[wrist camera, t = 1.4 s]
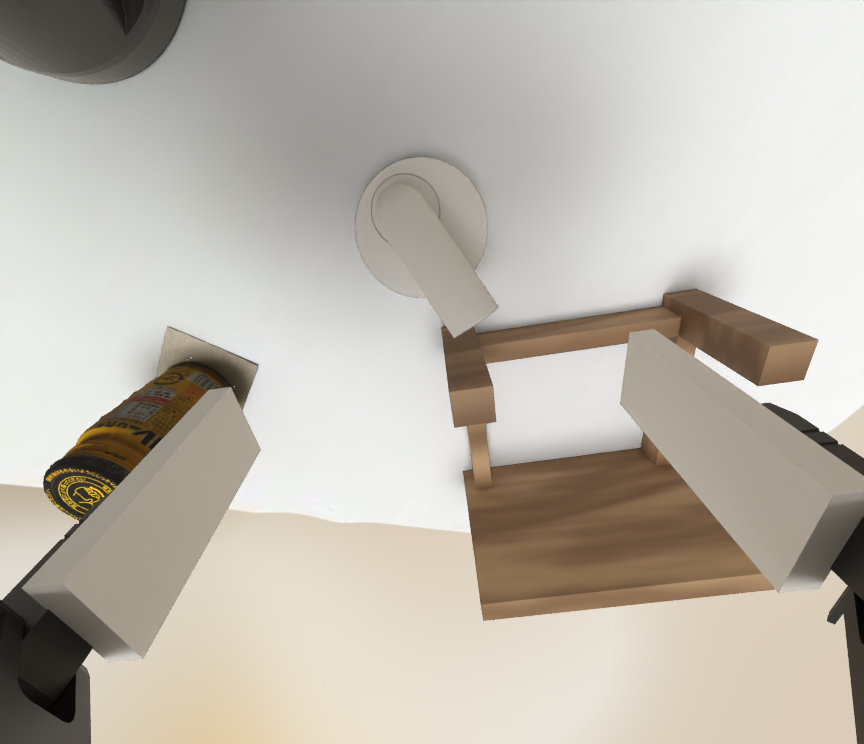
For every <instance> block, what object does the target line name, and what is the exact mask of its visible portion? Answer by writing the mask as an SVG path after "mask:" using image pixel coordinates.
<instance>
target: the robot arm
mask: <svg viewBox="0 0 864 744" xmlns="http://www.w3.org/2000/svg"><path fill="white" fill-rule="evenodd" d="M184 3H185V0H0V60H3V61H5V62H7V63H9V64H12V65H14V66H17V67H20V68H22V69H25V70H29V71H32V72H36V73H39V74H43V75H47V76H51V77H54V78H58V79H62V80H66V81H71V82H76V83H83V84H105V83H111V82H116V81H120V80H123V79H126V78H129V77H131V76H133V75H135V74H137V73H139V72H140V71H142V70H143V69H145V68H146V67H148V66H149V65H150V64H151V63H152V62H153V61H154V60H155V59H156V58H157V57H158V56H159V55H160V54H161V53H162V51H163V50H164V49H165V48H166V46H167V44H168V43H169V41H170V40H171V38H172V36H173V34H174V32H175V30H176V28H177V25H178V23H179V20H180V17H181V14H182V11H183V7H184ZM620 404H621V405H622V406H623V408H624V409H625V410H626V411H627V412H628V414H629V415H630V416H631V417H632V418H633V420H634V421H635V422H636V423H637V424H638V426H639V427H640V428H641V429H642V430H643V432H644V433H645V434H646V435H647V436H648V438H649V439H650V440H651V441H652V442H653V444H654V445H655V446H656V447H657V448H658V450H659V451H660V452H661V453H662V454H663V455H664V457H665V458H666V459H667V460H668V461H669V463H670V464H671V465H672V466H673V467H674V469H675V470H676V471H677V472H678V473H679V475H680V476H681V477H682V478H683V479H684V481H685V482H686V483H687V484H688V485H689V487H690V488H691V489H692V490H693V491H694V493H695V494H696V495H697V496H698V497H699V499H700V500H701V501H702V502H703V503H704V504H705V506H706V507H707V508H708V509H709V510H710V512H711V513H712V514H713V515H714V516H715V518H716V519H717V520H718V521H719V522H720V524H721V525H722V526H723V527H724V528H725V530H726V531H727V532H728V533H729V534H730V536H731V537H732V538H733V539H734V540H735V542H736V543H737V544H738V545H739V546H740V548H741V549H742V550H743V551H744V552H745V553H746V555H747V556H748V557H749V558H750V559H751V561H752V562H753V563H754V564H755V565H756V567H757V568H758V569H759V570H760V571H761V573H762V574H763V575H764V576H765V577H766V579H767V580H768V581H769V582H770V583H771V585H772V586H773V587H774V588H775V589H776V591H777V592H778V593H784V592H794V591H804V590H813V589H819V588H820V586H821V585H822V583H823V582H824V580H825V579H826V577H827V576H828V574H829V572H830V571H831V570H833V571H834V572H835V573H836V574H837V575H838V576H839V577H840V578H841V579H842V580H843V581H844V582H845V583H846V584H847V585H848V586H847V588H846V589H845V591H844V592H843V593H842V595H841V596H840V598H839V599H838V601H837V602H836V603H835V605H834V606H833V608H832V609H831V611H830V612H829V615H828V618H827V621H828V622H830V623H833V624H836V622H837V621H838V620H839V618H840V617H841V615H843V614H844V620H845V628H846V639H847V648H848V658H849V668H850V677H851V687H852V697H853V705H854V715H855V724H856V725H855V726H856V735H857V744H864V458H862V457H861V456H859V455H858V454H856V453H855V452H853V451H852V450H850V449H849V448H847V447H846V446H844V445H843V444H842V445H839V444H838V441H836V440H835V439H834V438H832V437H831V436H829V435H828V434H826V433H825V432H820V431H819V428H817V427H816V426H814V425H813V424H811V423H810V422H808V421H807V420H805V419H803V418H802V417H800V416H799V415H797V414H795V413H793V412H791V411H788V410H786V409H783V408H781V407H778V406H776V405H774V404H771V403H763V404H760V403H759V402H757V401H756V400H755V399H753V398H752V397H750V396H749V395H747V394H746V393H745V392H743V391H742V390H740V389H739V388H737V387H736V386H735V385H733V384H732V383H730V382H729V381H727V380H726V379H725V378H723V377H722V376H720V375H719V374H718V373H716V372H715V371H713V370H712V369H710V368H709V367H708V366H706V365H705V364H703V363H702V362H700V361H699V360H698V359H696V358H695V357H693V356H692V355H690V354H689V353H688V352H686V351H685V350H683V349H682V348H680V347H679V346H678V345H676V344H675V343H673V342H672V341H670V340H669V339H668V338H666V337H665V336H663V335H662V334H660V333H659V332H658V331H656V330H655V329H651V330H644V331H636V332H630V333H629V341H628V348H627V356H626V363H625V371H624V378H623V386H622V393H621V401H620ZM260 450H261V449H260V447H259V445H258V443H257V441H256V439H255V436H254V434H253V432H252V430H251V428H250V426H249V424H248V422H247V420H246V418H245V416H244V414H243V411H242V409H241V407H240V405H239V403H238V401H237V399H236V397H235V395H234V393H233V391H232V389H231V387H227V388H219V389H212V390H208V391H207V392H206V393H205V394H204V395H203V396H202V397H201V399H200V400H199V401H198V402H197V403H196V404H195V405H194V406H193V407H192V408H191V409H190V410H189V411H188V412H187V413H186V414H185V415H184V417H183V418H182V419H181V420H180V421H179V422H178V423H177V424H176V425H175V426H174V427H173V428H172V429H171V430H170V431H169V432H168V433H167V435H166V436H165V437H164V438H163V439H162V440H161V441H160V442H159V443H158V444H157V445H156V446H155V447H154V448H153V449H152V450H151V451H150V453H149V454H148V455H147V456H146V457H145V458H144V459H143V460H142V461H141V462H140V463H139V464H138V465H137V466H136V467H135V468H134V469H133V470H132V472H131V473H130V474H129V475H128V476H127V477H126V478H125V479H124V480H123V481H122V482H121V483H120V484H119V485H118V486H117V487H116V488H115V489H114V490H112V491H111V492H110V493H108V494H107V495H106V496H104V497H103V498H102V499H100V500H99V501H98V502H96V503H95V504H94V505H93V506H92V507H91V508H90V509H89V511H88V512H87V513H86V514H85V515H84V516H83V517H82V518H81V519H80V520H79V524H75V525H74V526H73V527H72V528H71V529H70V530H69V531H68V532H67V534H65V538H64V539H62V540H60V541H59V542H58V543H57V544H56V545H55V546H54V547H53V548H52V549H51V550H50V551H49V552H48V553H47V554H46V555H45V556H44V557H43V558H42V560H40V562H39V563H37V565H36V566H35V567H34V568H33V569H32V570H31V571H30V572H29V573H28V574H27V575H26V576H25V577H24V578H23V579H22V580H21V581H20V582H19V583H18V584H17V585H16V586H15V587H14V588H13V589H12V590H11V592H10V593H9V594H8V595H7V596H6V597H5V598H4V599H3V600H2V601H1V600H0V744H91V724H90V723H91V720H90V676H89V673H88V671H87V668H86V667H84V666H83V665H82V663H83V662H84V660H85V659H86V657H87V656H88V654H89V653H90V651H91V650H92V649H94V650H95V651H96V652H97V653H99V654H100V655H101V656H102V657H103V658H104V659H105V660H107V661H108V662H118V661H128V660H138V659H143V658H144V656H145V655H146V653H147V651H148V649H149V648H150V646H151V644H152V642H153V640H154V639H155V637H156V635H157V633H158V632H159V630H160V628H161V626H162V624H163V623H164V621H165V619H166V617H167V615H168V614H169V612H170V610H171V608H172V607H173V605H174V603H175V601H176V599H177V598H178V596H179V594H180V592H181V591H182V589H183V587H184V585H185V584H186V582H187V580H188V578H189V576H190V575H191V573H192V571H193V569H194V567H195V566H196V564H197V562H198V561H199V559H200V557H201V555H202V553H203V552H204V550H205V548H206V546H207V544H208V543H209V541H210V539H211V537H212V536H213V534H214V532H215V530H216V528H217V527H218V525H219V523H220V521H221V520H222V518H223V516H224V514H225V513H226V510H227V509H228V507H229V505H230V504H231V502H232V500H233V498H234V497H235V495H236V493H237V491H238V489H239V488H240V486H241V484H242V482H243V481H244V479H245V477H246V475H247V473H248V472H249V470H250V468H251V466H252V465H253V463H254V461H255V459H256V457H257V456H258V454H259V452H260Z"/></svg>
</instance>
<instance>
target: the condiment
mask: <svg viewBox="0 0 864 744" xmlns="http://www.w3.org/2000/svg"><path fill="white" fill-rule="evenodd" d="M190 357H193V358H192V359H190ZM186 359H189V360H188V361H186ZM257 367H258V366H256V365H254V364H252V363H250V362H248V361H247V360H244V359H242V358H240V357H238V356H236V355H233V354H230V353H229V352H227V351H225V350H222V349H220V348H217V347H215V346H212V345H210V344H209V343H207V342H203V341H201V340H198V339H196V338H193V337H191V336H189V335H187V334H185V333H181V332H179V331H176V330H174V329H172V328H169V327H167V329H166V333H165V337H164V343H163V346H162V352H161V355H160V360H159V365H158V371H157V375H156V379H154V380H152V381H150V382H149V383H147V384H146V385H145V386H144V387H143V388H141V389H140V390H138V391H136V392H134V393H133V394H132V395H131V396H130V397H129V398H128V399H126V400H124V401H123V402H122V403H121V404H120V405H119V406H118V407H116V408H114V409H113V410H112V411H111V412H109V413H107V414H106V415H104V416H102V417H101V418H100V420H99V421H98V422H96V423H95V424H94V425H93V426H91V427H90V428H89V429H87V430H86V431H85V432H84V433H83V434H82V435H81V436H80V438H79V439H78V441H77V443H76V446H74V447H73V448H72V449H71V450H69V451H68V452H67V453H66V455H65V456H64V457H63V458H62V459H60V460H58V461H56V462H55V463H54V464H53V465H51V466H50V469H48V470H47V471H46V473H45V476H44V481H43V485H44V486H43V487H44V491H45V493H46V494H47V496H48V498H49V499H50V501H51V502H52V503H53V504H54V505H55V506H56V507H57V508H59V509H60V510H61V511H63V512H64V513H66V514H67V515H69V516H71V517H73V518H74V519H77V520H80V519H81V518H82V517H83V516H84V515H85V514H86V513H87V512H88V511H89V509H90V508H91V507H92V506H93V505H94V504H95V503H96V502H98V501H99V500H100V499H102V498H103V497H104V496H106V495H107V494H108V493H110V492H111V491H112V490H114V489H115V488H116V487H117V486H118V485H119V484H120V483H121V482H122V481H123V480H124V479H125V478H126V477H127V476H128V475H129V474H130V473H131V472H132V470H133V469H134V468H135V467H136V466H137V465H138V464H139V463H140V462H141V461H142V460H143V459H144V458H145V457H146V456H147V455H148V454H149V453H150V451H151V450H152V449H153V448H154V447H155V446H156V445H157V444H158V443H159V442H160V441H161V440H162V439H163V438H164V437H165V436H166V435H167V433H168V432H169V431H170V430H171V429H172V428H173V427H174V426H175V425H176V424H177V423H178V422H179V421H180V420H181V419H182V418H183V417H184V415H185V414H186V413H187V412H188V411H189V410H190V409H191V408H192V407H193V406H194V405H195V404H196V403H197V402H198V401H199V400H200V399H201V397H202V396H203V395H204V394H205V393H206V392H207V391H208V390H212V389H219V388H227V387H231V389H232V391H233V393H234V395H235V397H236V399H237V401H238V403H239V405H240V407H241V409H243V407H244V403H245V401H246V397H247V395H248V392H249V390H250V387H251V385H252V382H253V378H254V375H255V373H256V370H257ZM233 386H235V387H233Z"/></svg>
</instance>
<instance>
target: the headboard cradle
mask: <svg viewBox="0 0 864 744" xmlns="http://www.w3.org/2000/svg"><path fill="white" fill-rule="evenodd" d="M441 329H442V337H443V346H444V354H445V363H446V371H447V380H448V388H449V396H450V402H451V409H452V415H453V422H454V428H455V427H462V426H467V429H468V436H469V444H470V451H471V459H472V466H473V470H469V471H463V475H464V482H465V490H466V497H467V505H468V512H469V520H470V527H471V535H472V542H473V550H474V556H475V565H476V572H477V579H478V587H479V594H480V602H481V609H482V615H483V620H484V621H486V620H495V619H504V618H513V617H523V616H532V615H541V614H551V613H560V612H570V611H579V610H588V609H597V608H607V607H616V606H625V605H635V604H644V603H653V602H662V601H671V600H681V599H689V598H699V597H709V596H718V595H727V594H736V593H746V592H755V591H765V590H774V587H773V586H772V585H771V583H770V582H769V581H768V580H767V579H766V577H765V576H764V575H763V574H762V573H761V571H760V570H759V569H758V568H757V567H756V565H755V564H754V563H753V562H752V561H751V559H750V558H749V557H748V556H747V555H746V553H745V552H744V551H743V550H742V549H741V548H740V546H739V545H738V544H737V543H736V542H735V540H734V539H733V538H732V537H731V536H730V534H729V533H728V532H727V531H726V530H725V528H724V527H723V526H722V525H721V524H720V522H719V521H718V520H717V519H716V518H715V516H714V515H713V514H712V513H711V512H710V510H709V509H708V508H707V507H706V506H705V504H704V503H703V502H702V501H701V500H700V499H699V497H698V496H697V495H696V494H695V493H694V491H693V490H692V489H691V488H690V487H689V485H688V484H687V483H686V482H685V481H684V479H683V478H682V477H681V476H680V475H679V473H678V472H677V471H676V470H675V469H674V467H673V466H672V465H671V464H670V463H669V461H668V460H667V459H666V458H665V457H664V455H663V454H662V453H661V452H660V451H659V450H658V448H657V447H656V446H655V445H654V444H653V442H652V441H651V440H650V439H649V438H648V436H647V435H646V434H645V433H643V439H642V446H641V448H639V449H631V450H623V451H615V452H608V453H600V454H592V455H585V456H577V457H569V458H562V459H554V460H546V461H538V462H531V463H523V464H515V465H508V466H500V467H492V468H490V462H489V453H488V443H487V433H486V424H485V423H492V422H496V414H495V402H494V391H493V384H492V381H491V378H490V375H489V372H488V369H487V366H486V364H487V363H494V362H501V361H508V360H515V359H522V358H528V357H535V356H542V355H549V354H556V353H563V352H570V351H577V350H584V349H590V348H597V347H604V346H611V345H618V344H625V343H628V341H629V333H630V332H636V331H644V330H651V329H655V330H656V331H658V332H659V333H660V334H662V335H663V336H665V337H666V338H668V339H669V340H670V341H672V342H673V343H675V344H676V345H678V346H679V347H680V348H682V349H683V350H685V351H686V352H688V353H689V354H690V355H692V356H693V357H694V354H695V349H696V347H697V348H698V349H700V350H702V351H703V352H705V353H706V354H708V355H710V356H711V357H713V358H714V359H716V360H717V361H719V362H721V363H722V364H724V365H725V366H727V367H729V368H730V369H732V370H733V371H735V372H736V373H738V374H740V375H741V376H743V377H744V378H746V379H748V380H749V381H751V382H752V383H754V384H756V385H757V386H763V385H770V384H777V383H785V382H792V381H799V380H804V378H805V375H806V372H807V370H808V367H809V364H810V362H811V359H812V356H813V354H814V351H815V348H816V345H817V343H818V339H816V338H813V337H811V336H808V335H806V334H804V333H801V332H799V331H796V330H794V329H792V328H789V327H787V326H784V325H782V324H780V323H777V322H775V321H772V320H770V319H768V318H765V317H763V316H760V315H758V314H756V313H753V312H751V311H748V310H746V309H744V308H741V307H739V306H736V305H734V304H732V303H729V302H727V301H724V300H722V299H720V298H717V297H715V296H712V295H710V294H707V293H705V292H703V291H700V290H698V289H694V290H687V291H680V292H674V293H667V294H664V296H663V303H662V306H660V307H654V308H647V309H640V310H634V311H627V312H620V313H614V314H607V315H600V316H594V317H587V318H580V319H574V320H567V321H560V322H554V323H547V324H540V325H534V326H527V327H520V328H513V329H507V330H500V331H493V332H487V333H480V334H476V333H475V330H474V327H471V328H470V329H468V330H467V331H465V332H464V333H462V334H461V335H459V336H457V337H455V338H453V336H452V334H451V333H450V332H449V330H448V329H447V327H443V328H441Z"/></svg>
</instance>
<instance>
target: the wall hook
mask: <svg viewBox="0 0 864 744" xmlns="http://www.w3.org/2000/svg"><path fill="white" fill-rule="evenodd" d="M355 235H356V241H357V246H358V249H359V252H360V255H361V257H362V259H363V261H364V263H365V265H366V266H367V268H368V269H369V271H370V272H371V273H372V275H373V276H374V277H375V278H376V279H377V280H378V281H379V282H380V283H382V284H383V285H384V286H386V287H387V288H389V289H390V290H392V291H394V292H396V293H399V294H402V295H405V296H409V297H415V298H427V299H428V301H429V302H430V304H431V305H432V307H433V308H434V310H435V311H436V312H437V314H438V315H439V317H440V318H441V320H442V321H443V323H444V324H445V326H446V327H447V329H448V330H449V332H450V333H451V334H452V336H453V338H455V337H457V336H459V335H461V334H462V333H464V332H465V331H467V330H468V329H470V328H471V327H473V326H474V325H476V324H477V323H479V322H480V321H482V320H483V319H484V318H486V317H487V316H489V315H490V314H491V313H493V312H494V311H495V310H496V309H497V308H498V305H497V304H496V302H495V301H494V299H493V298H492V297H491V295H490V294H489V292H488V291H487V289H486V288H485V286H484V285H483V283H482V282H481V280H480V279H479V277H478V276H477V274H476V273H475V272H474V270H475V268H476V267H477V265H478V263H479V262H480V260H481V257H482V255H483V252H484V249H485V245H486V240H487V217H486V212H485V208H484V204H483V202H482V199H481V197H480V195H479V193H478V191H477V189H476V188H475V186H474V185H473V184H472V182H471V181H470V180H469V179H468V178H467V177H466V176H465V175H464V174H463V173H462V172H461V171H459V170H458V169H457V168H455V167H454V166H452V165H450V164H448V163H446V162H444V161H441V160H438V159H434V158H427V157H413V158H407V159H403V160H400V161H397V162H395V163H393V164H391V165H389V166H388V167H386V168H385V169H383V170H382V171H381V172H379V173H378V174H377V175H376V176H375V177H374V178H373V179H372V181H371V182H370V183H369V184H368V186H367V187H366V189H365V191H364V192H363V194H362V196H361V199H360V201H359V204H358V208H357V212H356V218H355Z"/></svg>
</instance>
